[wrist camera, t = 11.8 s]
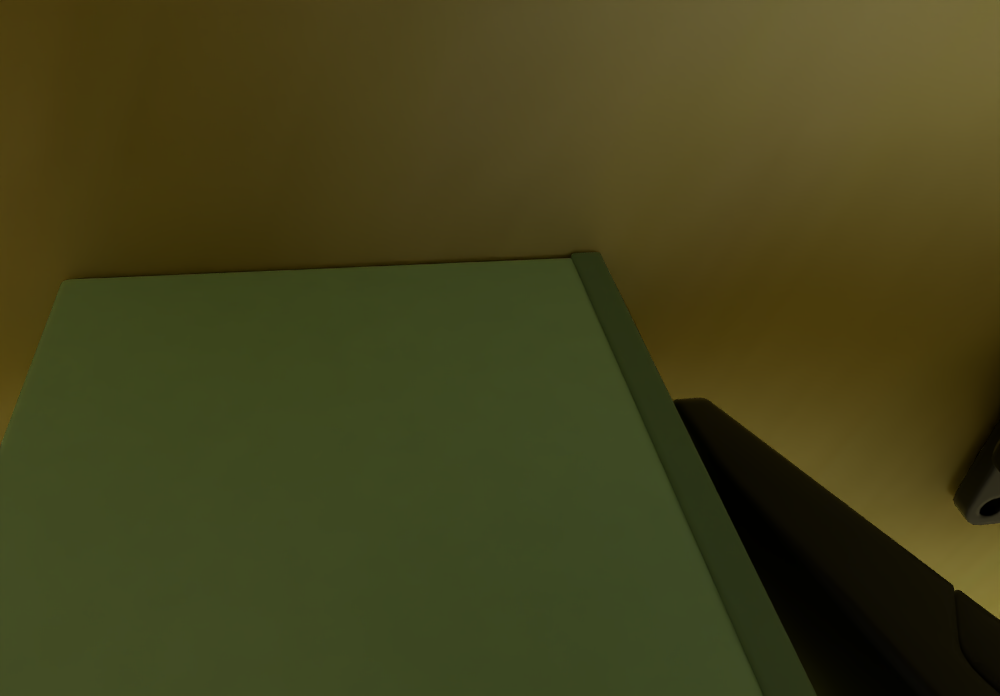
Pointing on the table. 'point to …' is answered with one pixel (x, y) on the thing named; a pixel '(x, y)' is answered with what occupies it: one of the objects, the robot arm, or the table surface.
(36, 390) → the sage-green book
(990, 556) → the table surface
